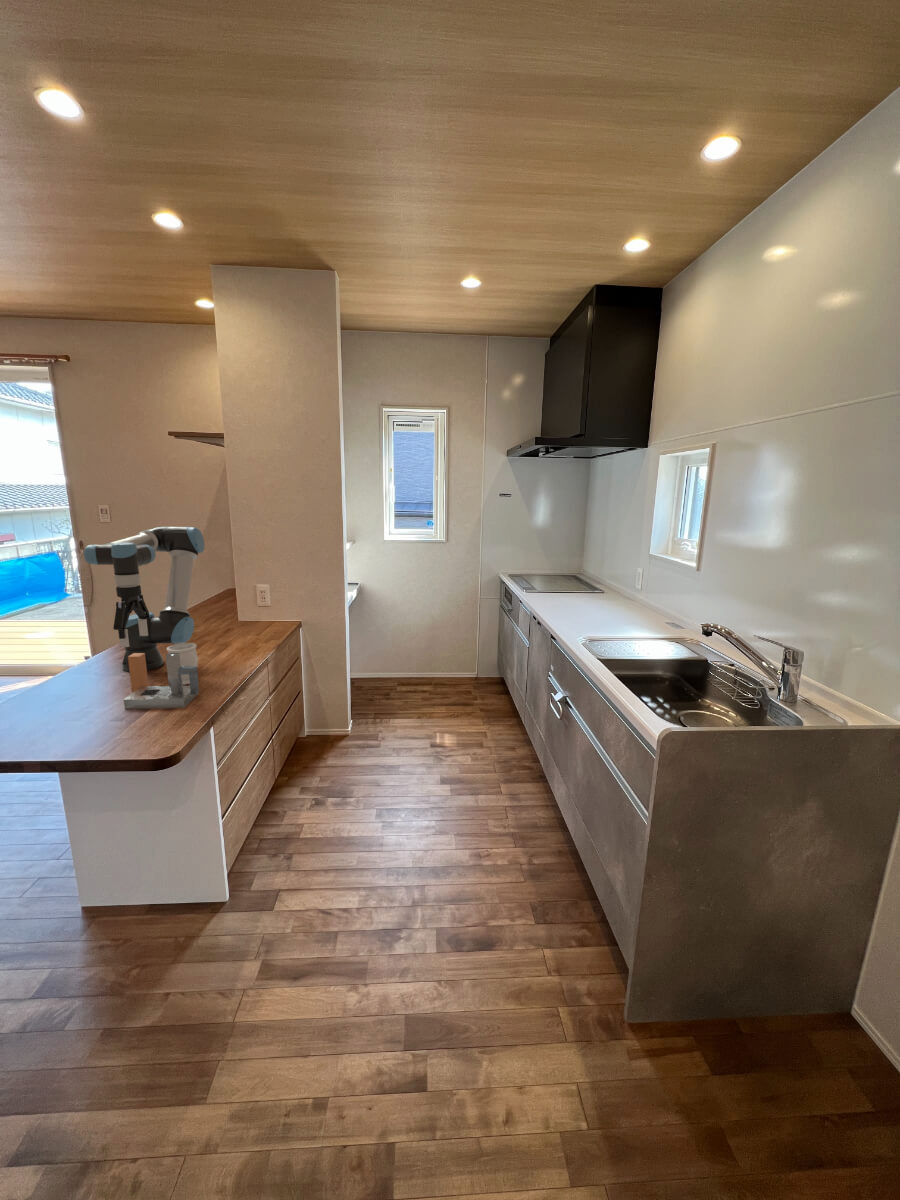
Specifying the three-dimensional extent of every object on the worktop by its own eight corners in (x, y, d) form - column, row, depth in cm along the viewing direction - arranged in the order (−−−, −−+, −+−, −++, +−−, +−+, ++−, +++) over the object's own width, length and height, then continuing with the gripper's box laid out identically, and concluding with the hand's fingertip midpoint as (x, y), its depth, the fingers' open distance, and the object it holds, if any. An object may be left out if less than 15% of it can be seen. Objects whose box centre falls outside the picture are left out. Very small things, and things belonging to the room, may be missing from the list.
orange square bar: (137, 689, 184) (133, 653, 181) (148, 689, 185) (144, 653, 181) (132, 694, 180) (127, 656, 177) (143, 693, 181) (139, 656, 178)
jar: (194, 674, 201) (191, 641, 198) (203, 682, 194) (200, 647, 190) (166, 681, 193) (163, 645, 190) (174, 688, 186) (170, 652, 183)
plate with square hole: (142, 694, 180) (137, 649, 176) (204, 694, 182) (201, 649, 179) (124, 708, 168) (118, 660, 164) (191, 707, 171) (187, 660, 167)
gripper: (135, 579, 185) (141, 631, 190) (96, 592, 161) (104, 651, 165) (155, 579, 186) (161, 631, 190) (120, 592, 162) (127, 651, 166)
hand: (134, 641), depth 178 cm, fingers open, 13 cm apart
